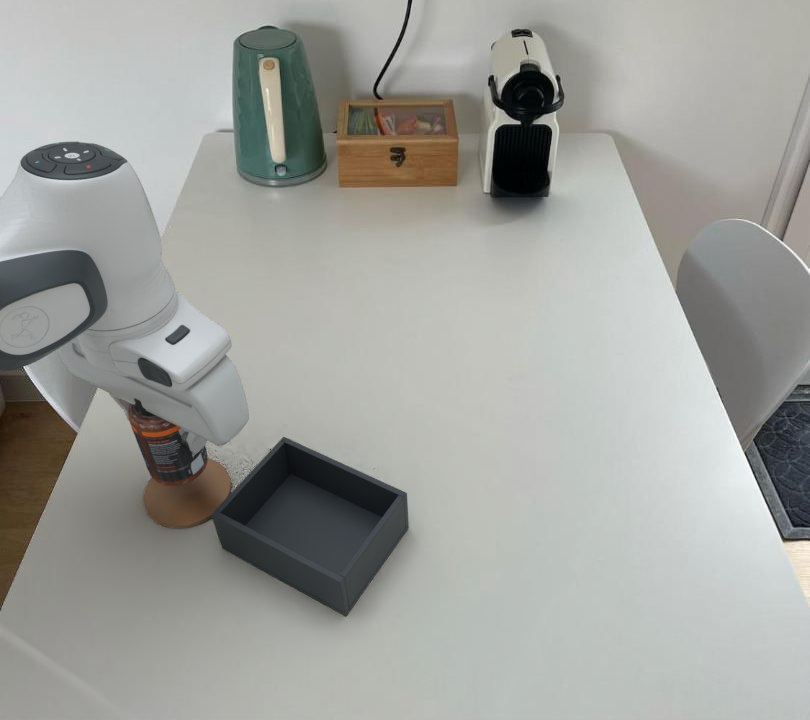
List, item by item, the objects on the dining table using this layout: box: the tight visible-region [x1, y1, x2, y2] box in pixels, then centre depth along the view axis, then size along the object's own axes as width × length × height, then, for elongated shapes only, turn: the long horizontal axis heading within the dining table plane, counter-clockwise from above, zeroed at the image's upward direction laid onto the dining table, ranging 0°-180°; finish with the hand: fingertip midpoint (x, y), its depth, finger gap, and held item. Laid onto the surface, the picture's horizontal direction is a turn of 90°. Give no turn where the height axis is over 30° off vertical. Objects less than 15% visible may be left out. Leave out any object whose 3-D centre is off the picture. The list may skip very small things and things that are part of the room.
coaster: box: [142, 457, 233, 529], centre depth 85 cm, size 9×9×1 cm
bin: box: [211, 436, 410, 617], centre depth 78 cm, size 11×15×6 cm
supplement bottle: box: [128, 398, 209, 486], centre depth 78 cm, size 6×6×11 cm
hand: (167, 432), depth 78 cm, fingers closed on supplement bottle, 6 cm apart
